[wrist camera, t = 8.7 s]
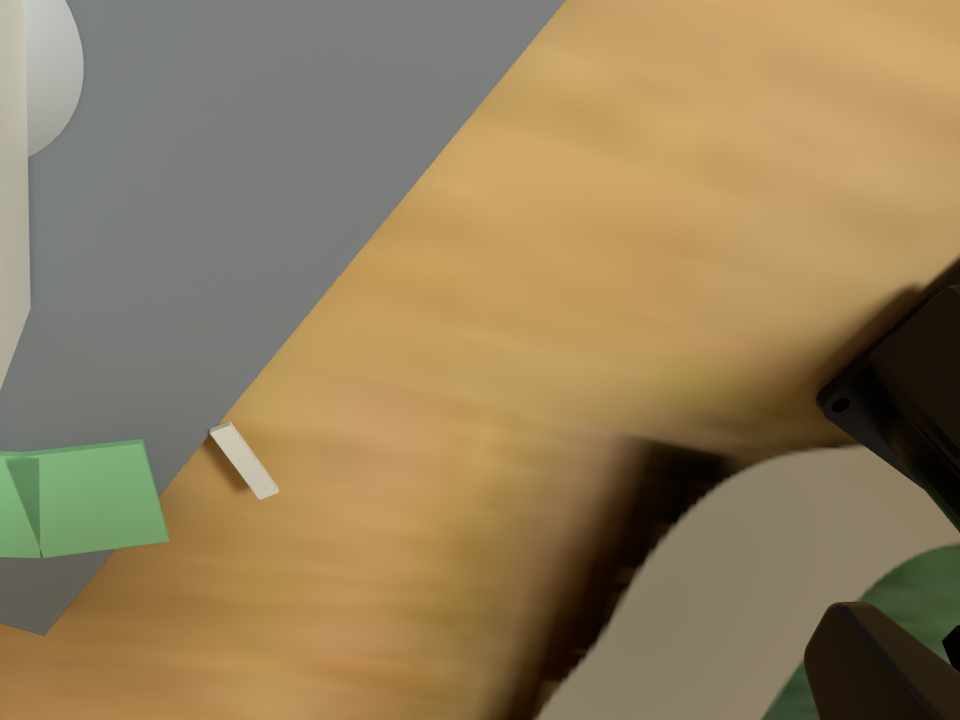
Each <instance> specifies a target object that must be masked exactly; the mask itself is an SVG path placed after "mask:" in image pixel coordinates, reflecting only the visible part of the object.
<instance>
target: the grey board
mask: <svg viewBox="0 0 960 720" xmlns="http://www.w3.org/2000/svg"><path fill="white" fill-rule="evenodd" d="M564 2H565V0H25V31H26V85H27V139H28V194H29V248H30V303H31V308H30V311H29V314H28V316H27V319H26V322H25V325H24V327H23V330H22V333H21V335H20V338H19V341H18V344H17V346H16V349H15V352H14V354H13V357H12V360H11V362H10V365H9V368H8V371H7V373H6V376H5V379H4V381H3V384H2V387H1V389H0V623H2V624H5V625H9V626H12V627H15V628H19V629H22V630H26V631H29V632H33V633H36V634H39V635H43V636H45V634H46V633H47V632H48V631H49V629H50V628H51V627H52V626H53V625H54V623H55V622H56V621H57V620H58V618H59V617H60V616H61V615H62V614H63V612H64V611H65V610H66V609H67V607H68V606H69V605H70V604H71V603H72V601H73V600H74V599H75V598H76V597H77V595H78V594H79V593H80V592H81V590H82V589H83V588H84V587H85V586H86V584H87V583H88V582H89V581H90V579H91V578H92V577H93V576H94V575H95V573H96V572H97V571H98V570H99V568H100V567H101V566H102V565H103V564H104V562H105V561H106V560H107V559H108V557H109V556H110V555H111V554H112V553H113V551H114V550H115V549H117V548H124V547H132V546H140V545H148V544H155V543H163V542H169V534H168V530H167V526H166V523H165V519H164V515H163V512H162V508H161V504H160V501H159V495H160V494H161V493H162V492H163V490H164V489H165V488H166V487H167V486H168V484H169V483H170V482H171V481H172V479H173V478H174V477H175V476H176V475H177V473H178V472H179V471H180V470H181V468H182V467H183V466H184V465H185V464H186V462H187V461H188V460H189V459H190V458H191V456H192V455H193V454H194V453H195V451H196V450H197V449H198V448H199V447H200V445H201V444H202V443H203V442H204V440H205V439H206V438H207V437H208V436H209V434H211V436H212V437H213V438H214V440H215V441H216V442H217V444H218V445H219V446H220V448H221V449H222V450H223V452H224V453H225V454H226V456H227V457H228V458H229V460H230V461H231V462H232V464H233V465H234V466H235V468H236V469H237V470H238V472H239V473H240V474H241V476H242V477H243V478H244V480H245V481H246V482H247V484H248V485H249V486H250V488H251V489H252V490H253V492H254V493H255V494H256V496H257V497H258V498H259V500H261V499H263V498H266V497H269V496H271V495H274V494H276V493H279V489H278V487H277V485H276V484H275V482H274V481H273V480H272V478H271V477H270V475H269V474H268V473H267V471H266V470H265V468H264V467H263V466H262V464H261V463H260V462H259V460H258V459H257V457H256V456H255V455H254V453H253V452H252V450H251V449H250V448H249V446H248V445H247V443H246V442H245V441H244V439H243V438H242V436H241V435H240V434H239V432H238V431H237V430H236V428H235V427H234V425H233V424H232V423H231V421H228V422H226V423H223V424H221V425H218V423H219V422H220V421H221V420H222V419H223V417H224V416H225V415H226V414H227V412H228V411H229V410H230V409H231V408H232V406H233V405H234V404H235V403H236V401H237V400H238V399H239V398H240V397H241V395H242V394H243V393H244V392H245V390H246V389H247V388H248V387H249V386H250V384H251V383H252V382H253V381H254V380H255V378H256V377H257V376H258V375H259V373H260V372H261V371H262V370H263V369H264V367H265V366H266V365H267V364H268V362H269V361H270V360H271V359H272V358H273V356H274V355H275V354H276V353H277V351H278V350H279V349H280V348H281V347H282V345H283V344H284V343H285V342H286V340H287V339H288V338H289V337H290V336H291V334H292V333H293V332H294V331H295V330H296V328H297V327H298V326H299V325H300V323H301V322H302V321H303V320H304V319H305V317H306V316H307V315H308V314H309V312H310V311H311V310H312V309H313V308H314V306H315V305H316V304H317V303H318V301H319V300H320V299H321V298H322V297H323V295H324V294H325V293H326V292H327V291H328V289H329V288H330V287H331V286H332V284H333V283H334V282H335V281H336V280H337V278H338V277H339V276H340V275H341V273H342V272H343V271H344V270H345V269H346V267H347V266H348V265H349V264H350V262H351V261H352V260H353V259H354V258H355V256H356V255H357V254H358V253H359V252H360V250H361V249H362V248H363V247H364V245H365V244H366V243H367V242H368V241H369V239H370V238H371V237H372V236H373V234H374V233H375V232H376V231H377V230H378V228H379V227H380V226H381V225H382V223H383V222H384V221H385V220H386V219H387V217H388V216H389V215H390V214H391V212H392V211H393V210H394V209H395V208H396V206H397V205H398V204H399V203H400V202H401V200H402V199H403V198H404V197H405V195H406V194H407V193H408V192H409V191H410V189H411V188H412V187H413V186H414V184H415V183H416V182H417V181H418V180H419V178H420V177H421V176H422V175H423V173H424V172H425V171H426V170H427V169H428V167H429V166H430V165H431V164H432V163H433V161H434V160H435V159H436V158H437V156H438V155H439V154H440V153H441V152H442V150H443V149H444V148H445V147H446V145H447V144H448V143H449V142H450V141H451V139H452V138H453V137H454V136H455V134H456V133H457V132H458V131H459V130H460V128H461V127H462V126H463V125H464V123H465V122H466V121H467V120H468V119H469V117H470V116H471V115H472V114H473V113H474V111H475V110H476V109H477V108H478V106H479V105H480V104H481V103H482V102H483V100H484V99H485V98H486V97H487V95H488V94H489V93H490V92H491V91H492V89H493V88H494V87H495V86H496V84H497V83H498V82H499V81H500V80H501V78H502V77H503V76H504V75H505V74H506V72H507V71H508V70H509V69H510V67H511V66H512V65H513V64H514V63H515V61H516V60H517V59H518V58H519V56H520V55H521V54H522V53H523V52H524V50H525V49H526V48H527V47H528V45H529V44H530V43H531V42H532V41H533V39H534V38H535V37H536V36H537V35H538V33H539V32H540V31H541V30H542V28H543V27H544V26H545V25H546V24H547V22H548V21H549V20H550V19H551V17H552V16H553V15H554V14H555V13H556V11H557V10H558V9H559V8H560V6H561V5H562V4H563V3H564ZM217 425H218V426H217Z"/></svg>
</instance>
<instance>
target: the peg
mask: <svg viewBox="0 0 960 720" xmlns="http://www.w3.org/2000/svg"><path fill="white" fill-rule="evenodd" d="M30 308H31V303H30V248H29V194H28V139H27V85H26V31H25V0H0V389H1V387H2V384H3V381H4V379H5V376H6V373H7V371H8V368H9V365H10V362H11V360H12V357H13V354H14V352H15V349H16V346H17V344H18V341H19V338H20V335H21V333H22V330H23V327H24V325H25V322H26V319H27V316H28V314H29V311H30Z"/></svg>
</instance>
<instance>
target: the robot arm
mask: <svg viewBox="0 0 960 720" xmlns="http://www.w3.org/2000/svg"><path fill="white" fill-rule="evenodd" d="M838 399H839V400H838ZM836 400H838V401H836ZM835 401H836V402H835ZM834 402H835V403H834ZM816 405H817V406H818V407H819V409H820V410H821V411H822V413H823V414H824V415H825V417H826V418H828V419H829V420H830V421H832V422H833V423H834V424H836V425H837V426H838V427H840V428H841V429H842V430H844V431H845V432H847V433H848V434H849V435H851V436H852V437H853V438H855V439H856V440H857V441H859V442H860V443H861V444H863V445H864V446H866V447H867V448H868V449H870V450H871V451H872V452H874V453H875V454H876V455H878V456H879V457H881V458H882V459H883V460H884V461H886V462H887V463H889V464H890V465H891V466H893V467H894V468H895V469H897V470H898V471H900V472H901V473H902V474H903V475H905V476H906V477H908V478H909V479H910V480H912V481H913V482H914V483H916V484H917V485H918V486H920V487H921V488H922V489H924V490H925V491H926V492H927V494H928V495H929V496H930V497H931V498H932V500H934V502H935V503H936V504H937V506H938V507H939V508H940V509H941V510H942V512H943V513H944V514H945V515H946V517H947V518H948V519H949V520H950V521H951V523H952V524H953V525H954V526H955V527H956V529H957V530H958V531H959V532H960V269H959V270H958V271H957V272H956V273H955V274H953V275H952V276H951V277H950V278H949V279H948V280H947V281H945V282H944V283H943V284H942V285H941V286H940V287H939V288H937V289H936V290H935V291H934V292H933V293H932V294H931V295H929V296H928V297H927V298H926V299H925V300H924V301H922V302H921V303H920V304H919V305H918V306H917V307H916V308H914V309H913V310H912V311H911V312H910V313H909V314H908V315H906V316H905V317H904V318H903V319H902V320H901V321H900V322H898V323H897V324H896V325H895V326H894V327H893V328H892V329H890V330H889V331H888V332H887V333H886V334H885V335H883V336H882V337H881V338H880V339H879V340H878V341H877V342H875V343H874V344H873V345H872V346H871V347H870V348H869V349H867V350H866V351H865V352H864V353H863V354H862V355H861V356H859V357H858V358H857V359H856V360H855V361H854V362H852V363H851V364H850V365H849V366H848V367H847V368H846V369H844V370H843V371H842V372H841V373H840V374H839V375H838V376H836V377H835V378H834V379H833V380H832V381H831V382H830V383H828V384H827V385H826V386H825V387H824V388H823V389H822V390H821V391H820V392H819V393H818V396H817V398H816ZM942 643H943V646H944V648H945V651H946V653H947V656H948V658H949V660H950V663H951V665H952V666H951V665H950V664H948V663H947V662H946V661H944V660H943V659H942V658H941V657H939V656H938V655H937V654H935V653H934V652H933V651H932V650H930V649H929V648H928V647H926V646H925V645H924V644H923V643H921V642H920V641H919V640H918V639H916V638H915V637H914V636H912V635H911V634H910V633H909V632H907V631H906V630H905V629H903V628H902V627H901V626H900V625H898V624H897V623H896V622H894V621H893V620H892V619H891V618H889V617H888V616H887V615H885V614H884V613H883V612H882V611H880V610H879V609H878V608H876V607H875V606H873V605H871V604H869V603H866V602H838V603H834V604H832V605H831V606H829V607H828V609H827V610H826V612H825V614H824V615H823V617H822V619H821V621H820V623H819V624H818V626H817V628H816V630H815V632H814V633H813V635H812V637H811V639H810V641H809V642H808V644H807V646H806V649H805V653H804V666H805V672H806V675H807V679H808V682H809V685H810V689H811V692H812V695H813V699H814V702H815V705H816V709H817V712H818V715H819V719H820V720H960V625H958V626H956V627H955V628H954V629H953V630H952V631H951V632H950V633H949V634H948V635H947V636H946V637H945V638H944V639H943V640H942Z"/></svg>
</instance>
